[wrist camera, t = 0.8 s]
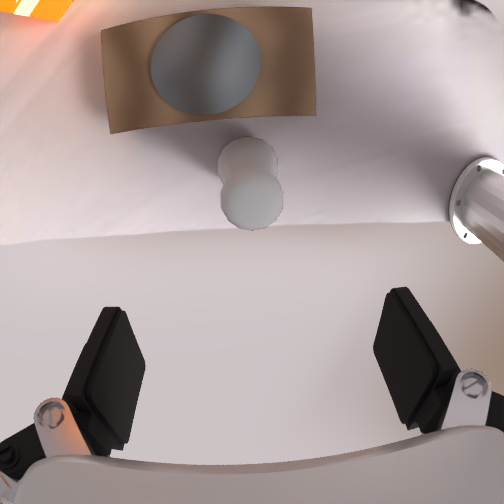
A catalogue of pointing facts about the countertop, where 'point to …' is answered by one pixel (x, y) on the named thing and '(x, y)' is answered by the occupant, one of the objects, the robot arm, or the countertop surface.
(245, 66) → the walnut stand
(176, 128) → the countertop surface
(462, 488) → the robot arm
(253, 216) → the salt shaker
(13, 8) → the orange juice
